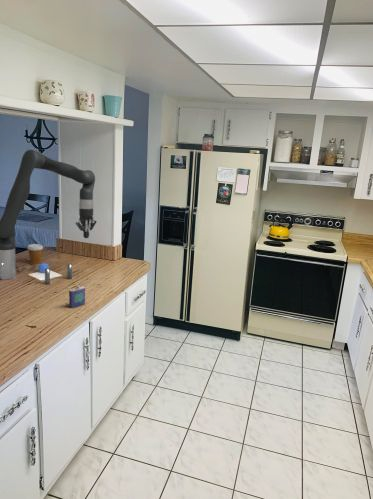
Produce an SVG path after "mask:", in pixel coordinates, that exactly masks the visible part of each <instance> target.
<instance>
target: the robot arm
mask: <svg viewBox="0 0 373 499" xmlns="http://www.w3.org/2000/svg"><path fill="white" fill-rule="evenodd" d="M34 169H38V170H45V171H49V172H53V173H55V174H57V175H60V176H61V177H64V178H65V177H66V178H67V179H71V180H73V181H74V182H77V183H79V184H82V187H81V188H80V189H79V201H78V203H79V204H78V206H79V207H78V208H79V209H78V212H79V213H78V214H79V215H78V216H79V217H78V221H76V222H75V225H76V226H77V227H78V229H79V230H80V231H81V232H83V233H82V234H83V239H89V237H90V231H93V229H94V227H95V225H96V224H97V222H98V221H97V220H95V219H94V188H95V184H96V183H95V182H96V176H95V173H94V172H93V171H92V170H89V169H87V170H82V169H80V168H78V167H77V166H74V165H72V164H69V163H66V162H62V161H58V160H54V159H52V158H50V157H48V156H46V155H44V154H42V153H41V152H39V151H37V150H34V149H27V150H26V151H24V153H23V155H22V158H21V161H20V166H19V167H18V172H17V174H16V177H15V179H14V182H13V183H12V184H13V185H12V187H11V190H10V191H9V194H8V198H7V200H6V205H5V206H4V211H3V214H2V216H1V218H0V280H13V279H14V278H16V277H17V268H16V267H17V265H16V264H17V263H16V262H17V261H16V228H15V227H16V223H17V221H18V217H19V215H20V214H21V212H22V210H23V209H24V206H25V204H26V203H27V201H28V198H29V195H30V192H31V177H32V173H33V171H34Z"/></svg>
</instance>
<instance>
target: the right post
mask: <svg viewBox="0 0 373 499" xmlns="http://www.w3.org/2000/svg"><path fill="white" fill-rule="evenodd" d="M66 265H67V266H66V267H67V268H66V269H67V270H66V273H67V274H66V278H67V280H73V263H67V264H66Z"/></svg>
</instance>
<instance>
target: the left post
mask: <svg viewBox="0 0 373 499" xmlns="http://www.w3.org/2000/svg"><path fill="white" fill-rule="evenodd" d="M50 269H51V268H50V267H49V268H45V280H44V285H45V286H47V285H51V278H50Z"/></svg>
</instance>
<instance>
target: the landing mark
mask: <svg viewBox="0 0 373 499" xmlns="http://www.w3.org/2000/svg"><path fill="white" fill-rule="evenodd" d="M28 276H30V277H33V278H34V279H37V280H39V281H45V273H42V272H40V271H37V272H33V273H28ZM57 277H58V278H59V277H63V275H62V274H60V273H57V272H55V271H52V270H50V279H54V278H57Z"/></svg>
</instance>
